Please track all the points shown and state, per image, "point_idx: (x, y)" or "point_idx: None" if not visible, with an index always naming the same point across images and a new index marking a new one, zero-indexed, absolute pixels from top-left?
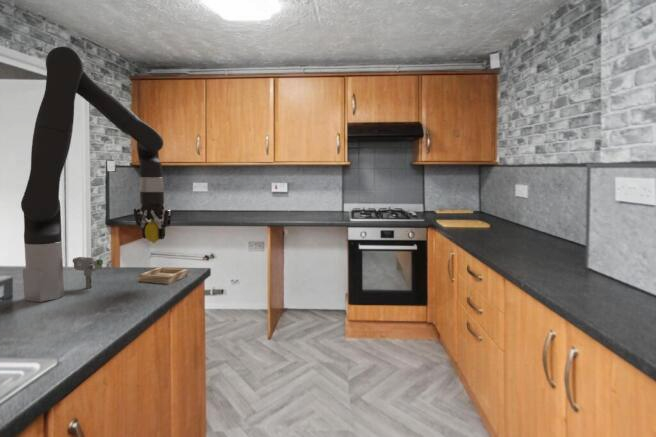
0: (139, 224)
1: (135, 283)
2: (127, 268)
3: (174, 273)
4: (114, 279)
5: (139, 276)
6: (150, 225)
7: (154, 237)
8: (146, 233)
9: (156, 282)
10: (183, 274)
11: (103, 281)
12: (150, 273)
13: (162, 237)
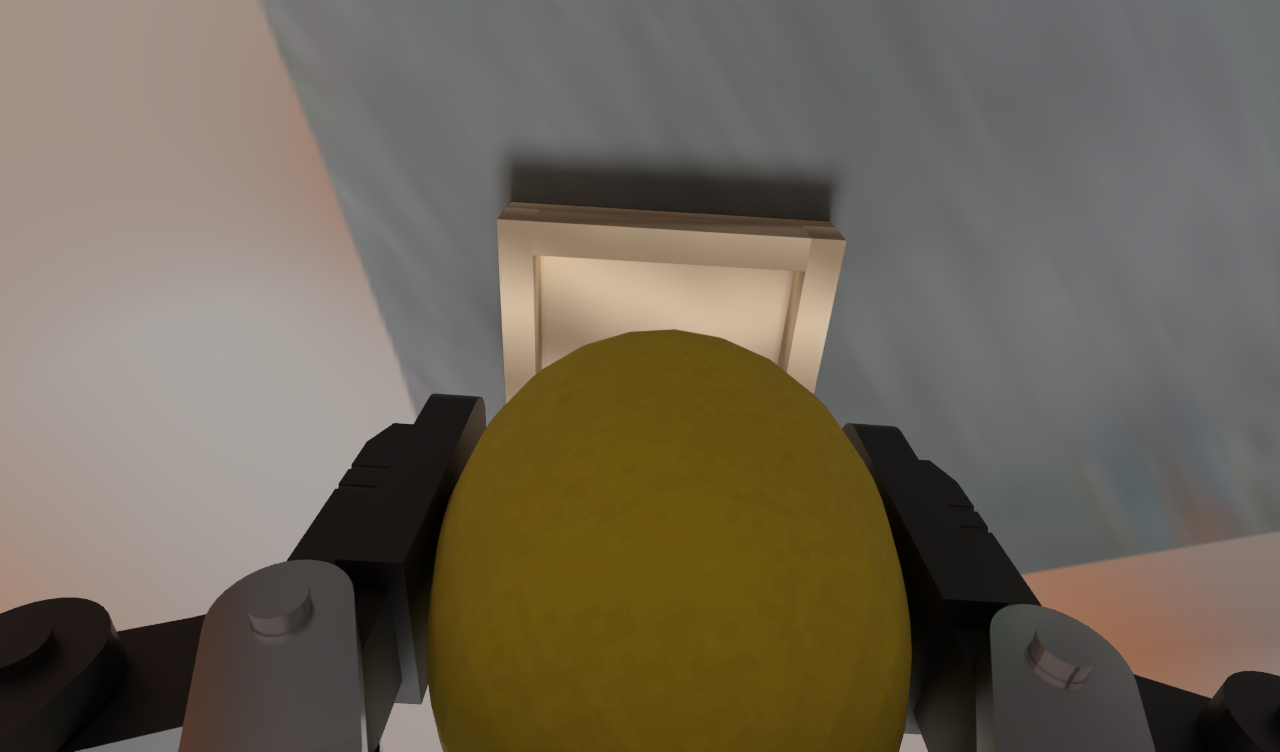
0: (1225, 722)
1: (824, 139)
2: (1117, 543)
3: (534, 355)
4: (1094, 220)
5: (836, 234)
6: (639, 609)
7: (545, 367)
8: (752, 374)
9: (643, 211)
10: None
11: (1179, 128)
12: (786, 352)
13: (390, 431)
